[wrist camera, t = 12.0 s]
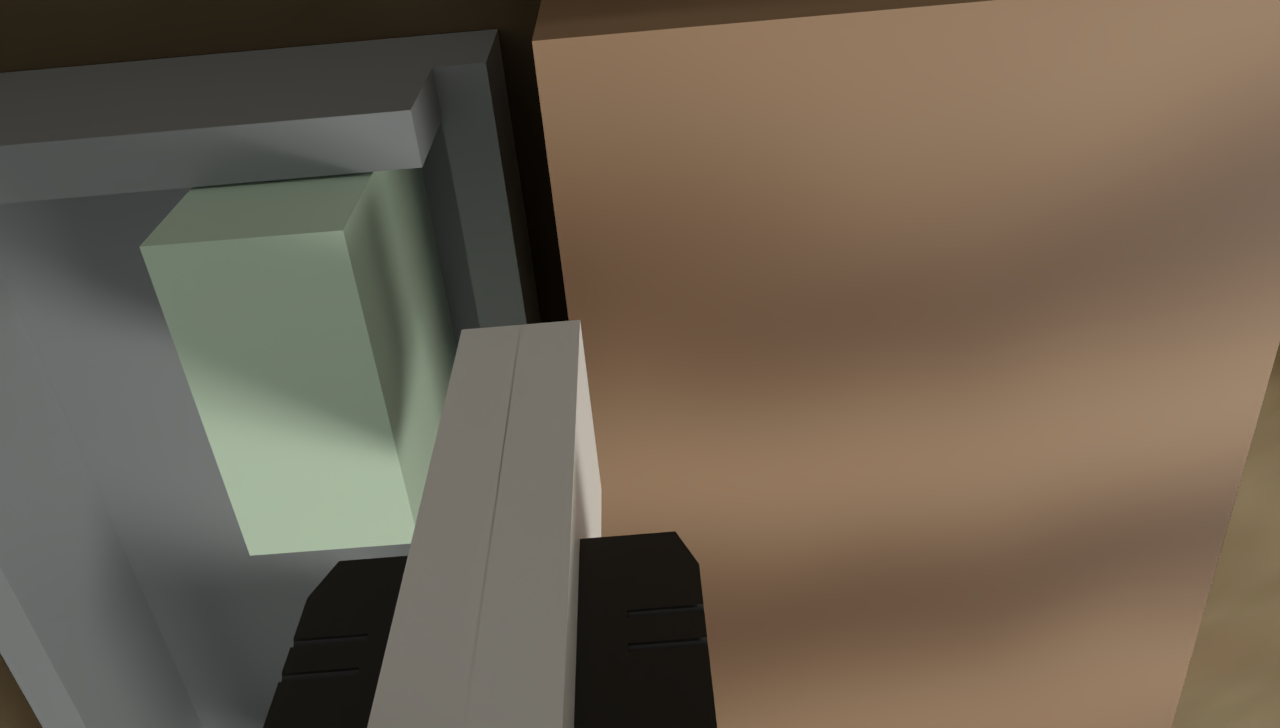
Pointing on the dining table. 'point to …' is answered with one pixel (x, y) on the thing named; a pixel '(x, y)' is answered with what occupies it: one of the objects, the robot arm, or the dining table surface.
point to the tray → (150, 366)
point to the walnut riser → (924, 334)
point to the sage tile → (311, 349)
